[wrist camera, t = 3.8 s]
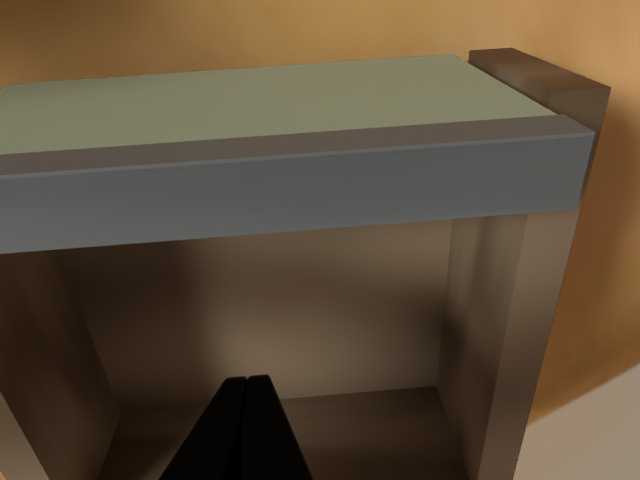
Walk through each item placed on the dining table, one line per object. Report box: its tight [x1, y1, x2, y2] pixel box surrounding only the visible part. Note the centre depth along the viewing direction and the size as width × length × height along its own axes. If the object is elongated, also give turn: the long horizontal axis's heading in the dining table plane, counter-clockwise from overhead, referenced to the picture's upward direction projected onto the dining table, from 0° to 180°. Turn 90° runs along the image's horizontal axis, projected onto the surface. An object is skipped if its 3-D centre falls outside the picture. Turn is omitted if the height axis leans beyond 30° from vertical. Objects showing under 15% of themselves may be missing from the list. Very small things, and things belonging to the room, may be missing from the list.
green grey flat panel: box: [0, 54, 595, 254], centre depth 9 cm, size 1×10×6 cm, turn 93°
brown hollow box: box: [0, 48, 611, 480], centre depth 13 cm, size 12×13×5 cm
